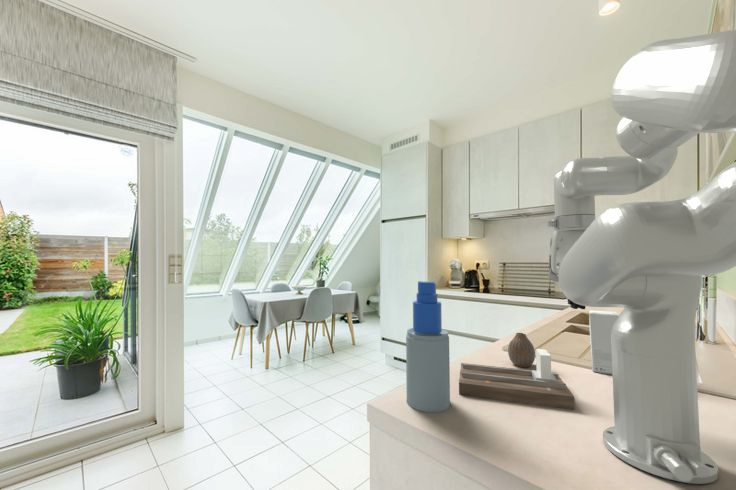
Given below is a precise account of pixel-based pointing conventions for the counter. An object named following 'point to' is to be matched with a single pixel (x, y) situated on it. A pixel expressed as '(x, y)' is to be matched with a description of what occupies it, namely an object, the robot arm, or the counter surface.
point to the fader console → (513, 386)
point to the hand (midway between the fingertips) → (577, 308)
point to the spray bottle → (427, 354)
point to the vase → (521, 351)
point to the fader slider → (543, 367)
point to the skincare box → (601, 340)
